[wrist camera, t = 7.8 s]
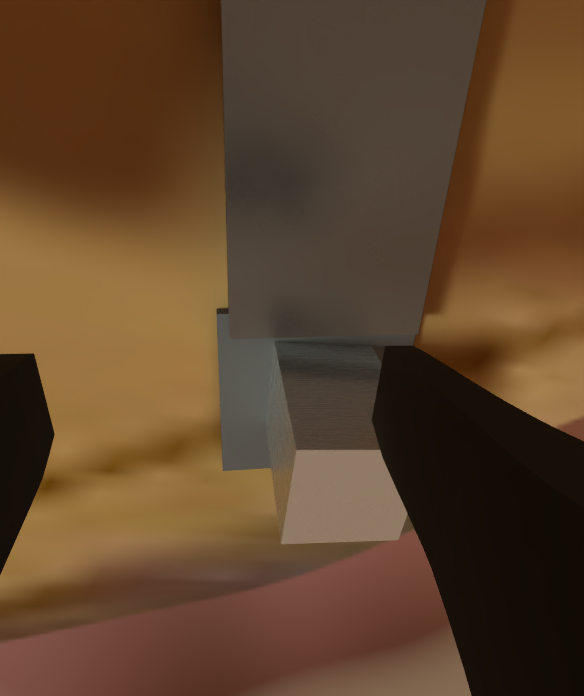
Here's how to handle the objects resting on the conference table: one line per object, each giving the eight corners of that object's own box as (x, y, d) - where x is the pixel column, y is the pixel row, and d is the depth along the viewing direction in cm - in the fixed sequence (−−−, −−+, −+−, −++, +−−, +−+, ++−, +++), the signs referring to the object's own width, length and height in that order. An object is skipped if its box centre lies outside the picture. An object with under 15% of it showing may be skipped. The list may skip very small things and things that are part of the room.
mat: (222, 463, 25) (222, 470, 24) (216, 308, 20) (216, 314, 20) (387, 454, 26) (390, 460, 25) (416, 305, 21) (420, 310, 21)
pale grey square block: (265, 421, 23) (280, 544, 17) (274, 341, 21) (296, 449, 15) (353, 422, 24) (398, 540, 18) (371, 345, 22) (429, 449, 16)
